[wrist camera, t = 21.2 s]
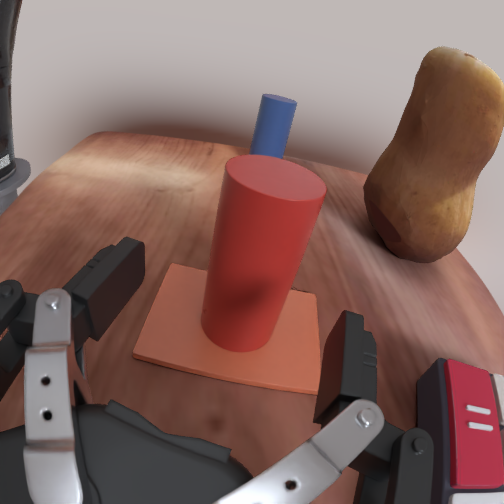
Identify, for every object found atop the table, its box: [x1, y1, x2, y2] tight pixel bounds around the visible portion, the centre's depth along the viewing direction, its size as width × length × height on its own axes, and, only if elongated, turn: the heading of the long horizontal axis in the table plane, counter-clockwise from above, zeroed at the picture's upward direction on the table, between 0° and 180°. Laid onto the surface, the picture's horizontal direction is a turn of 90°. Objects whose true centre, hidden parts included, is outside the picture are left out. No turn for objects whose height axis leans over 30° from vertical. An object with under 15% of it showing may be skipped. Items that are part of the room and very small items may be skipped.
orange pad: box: [132, 263, 321, 395], centre depth 21 cm, size 12×9×1 cm
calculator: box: [417, 358, 504, 504], centre depth 13 cm, size 11×4×15 cm
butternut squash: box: [363, 47, 504, 263], centre depth 29 cm, size 14×13×25 cm
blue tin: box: [249, 94, 297, 159], centre depth 43 cm, size 5×5×11 cm
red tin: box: [201, 155, 327, 352], centre depth 18 cm, size 5×5×11 cm
